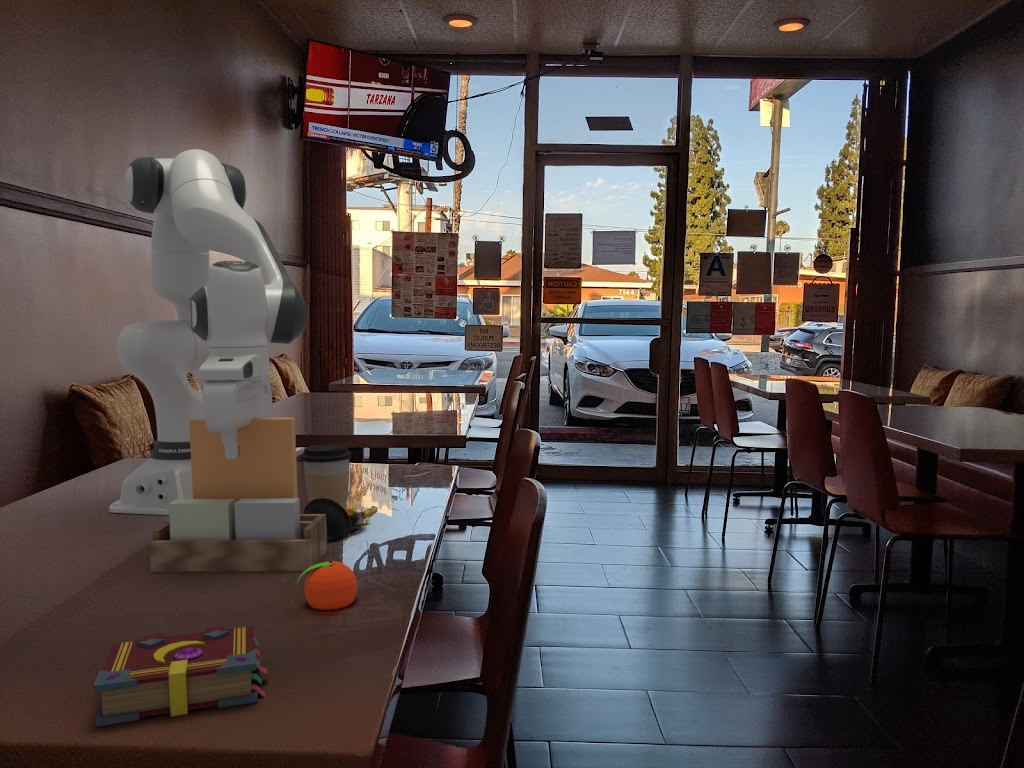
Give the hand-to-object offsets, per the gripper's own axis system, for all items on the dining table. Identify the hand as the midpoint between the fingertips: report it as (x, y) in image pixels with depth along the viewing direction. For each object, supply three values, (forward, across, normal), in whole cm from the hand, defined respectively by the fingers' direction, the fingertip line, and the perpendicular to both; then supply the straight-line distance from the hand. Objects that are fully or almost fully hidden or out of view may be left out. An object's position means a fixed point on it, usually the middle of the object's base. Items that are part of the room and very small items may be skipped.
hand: (243, 452), depth 128 cm
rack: (+18, +3, 0) cm, 18 cm away
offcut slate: (+17, +5, +5) cm, 18 cm away
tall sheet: (+17, 0, 0) cm, 17 cm away
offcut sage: (+17, +5, -5) cm, 18 cm away
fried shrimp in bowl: (+18, -15, +12) cm, 26 cm away
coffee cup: (+18, -24, +7) cm, 31 cm away
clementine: (+18, +21, +18) cm, 33 cm away
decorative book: (+19, +43, +8) cm, 48 cm away
